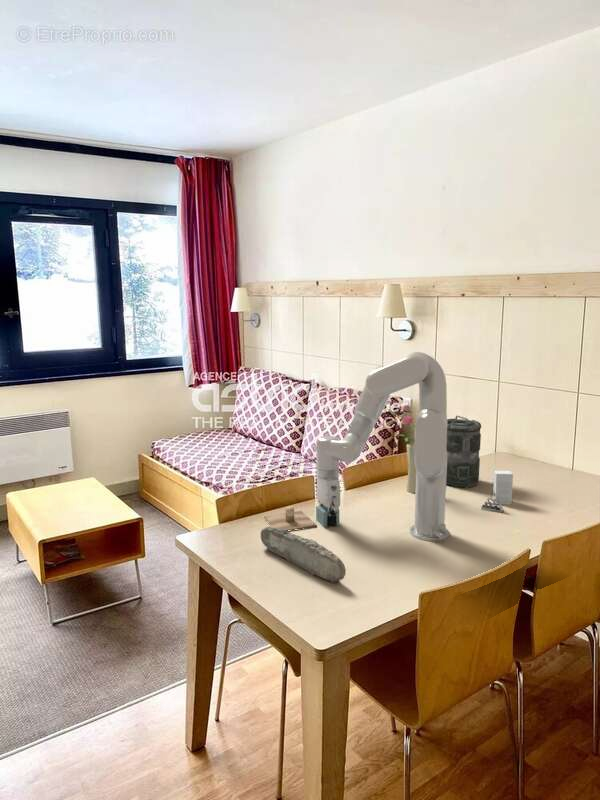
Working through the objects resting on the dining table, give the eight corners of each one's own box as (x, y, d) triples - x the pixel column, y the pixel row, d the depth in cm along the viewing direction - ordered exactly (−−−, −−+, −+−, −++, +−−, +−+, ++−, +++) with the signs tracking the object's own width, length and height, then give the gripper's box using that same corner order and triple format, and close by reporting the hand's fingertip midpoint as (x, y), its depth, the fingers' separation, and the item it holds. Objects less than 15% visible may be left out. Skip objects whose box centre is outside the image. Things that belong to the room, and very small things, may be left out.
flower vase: (407, 500, 223) (409, 410, 216) (385, 491, 233) (387, 405, 226) (429, 494, 229) (432, 407, 223) (407, 485, 239) (409, 402, 233)
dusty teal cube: (339, 526, 199) (339, 509, 198) (323, 529, 197) (323, 512, 196) (331, 520, 204) (331, 503, 203) (316, 522, 202) (316, 506, 201)
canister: (431, 479, 247) (433, 415, 242) (461, 474, 253) (463, 411, 248) (456, 490, 233) (459, 422, 228) (486, 485, 239) (490, 418, 234)
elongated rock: (255, 552, 180) (254, 522, 178) (268, 547, 183) (267, 517, 182) (339, 593, 155) (339, 558, 153) (352, 586, 159) (353, 552, 157)
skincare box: (508, 500, 221) (510, 470, 219) (511, 504, 217) (513, 474, 215) (492, 500, 222) (493, 470, 220) (494, 504, 218) (496, 473, 215)
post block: (316, 528, 197) (316, 512, 196) (277, 535, 192) (277, 518, 191) (301, 514, 210) (300, 498, 209) (264, 520, 204) (263, 504, 203)
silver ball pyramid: (510, 507, 215) (512, 488, 214) (505, 515, 208) (506, 495, 206) (486, 503, 220) (487, 484, 218) (480, 511, 212) (481, 491, 211)
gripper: (349, 478, 191) (348, 530, 194) (327, 464, 206) (327, 512, 210) (328, 481, 188) (328, 534, 191) (307, 467, 204) (307, 515, 207)
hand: (327, 522), depth 200 cm, fingers open, 6 cm apart
